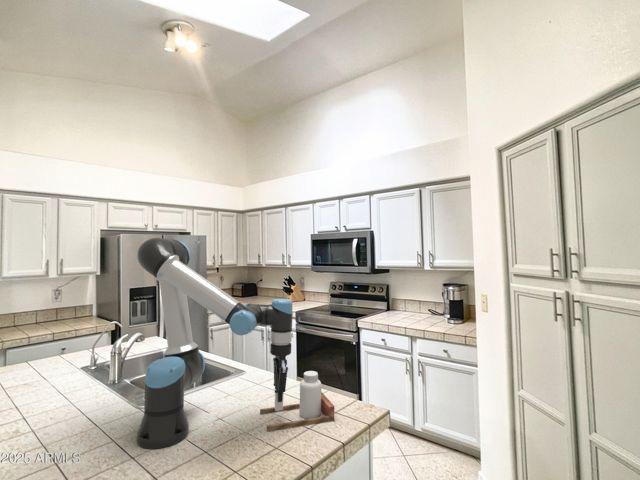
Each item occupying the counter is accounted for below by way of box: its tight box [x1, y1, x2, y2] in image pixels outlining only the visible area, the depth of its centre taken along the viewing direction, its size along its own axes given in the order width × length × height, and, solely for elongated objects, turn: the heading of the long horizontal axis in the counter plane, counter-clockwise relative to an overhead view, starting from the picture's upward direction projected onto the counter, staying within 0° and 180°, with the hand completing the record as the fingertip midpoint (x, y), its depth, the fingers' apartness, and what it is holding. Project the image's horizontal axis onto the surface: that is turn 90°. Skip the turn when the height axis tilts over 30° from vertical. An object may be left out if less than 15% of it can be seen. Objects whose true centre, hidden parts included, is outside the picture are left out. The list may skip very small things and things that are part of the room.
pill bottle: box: [299, 370, 322, 419], centre depth 125 cm, size 8×8×15 cm
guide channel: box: [259, 391, 335, 433], centre depth 123 cm, size 24×14×5 cm, turn 109°
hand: (278, 409), depth 121 cm, fingers closed
